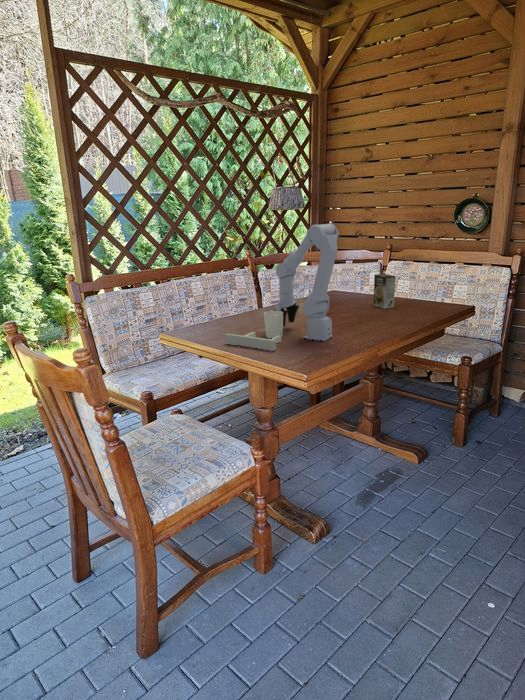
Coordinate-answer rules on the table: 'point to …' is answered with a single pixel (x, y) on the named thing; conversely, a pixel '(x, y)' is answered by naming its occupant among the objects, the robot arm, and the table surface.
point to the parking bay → (253, 341)
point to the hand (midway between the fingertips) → (286, 324)
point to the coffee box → (384, 291)
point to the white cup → (273, 323)
